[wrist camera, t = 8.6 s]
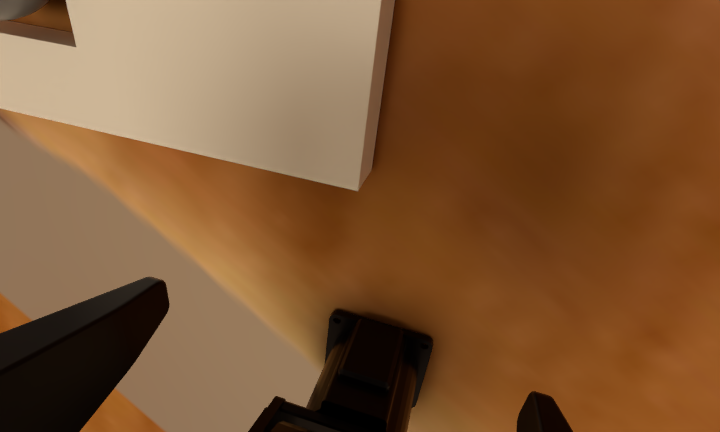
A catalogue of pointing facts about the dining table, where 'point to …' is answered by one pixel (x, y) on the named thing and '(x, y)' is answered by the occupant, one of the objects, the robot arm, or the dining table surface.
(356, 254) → the dining table surface
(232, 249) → the dining table surface
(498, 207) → the dining table surface
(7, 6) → the ball
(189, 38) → the deck
